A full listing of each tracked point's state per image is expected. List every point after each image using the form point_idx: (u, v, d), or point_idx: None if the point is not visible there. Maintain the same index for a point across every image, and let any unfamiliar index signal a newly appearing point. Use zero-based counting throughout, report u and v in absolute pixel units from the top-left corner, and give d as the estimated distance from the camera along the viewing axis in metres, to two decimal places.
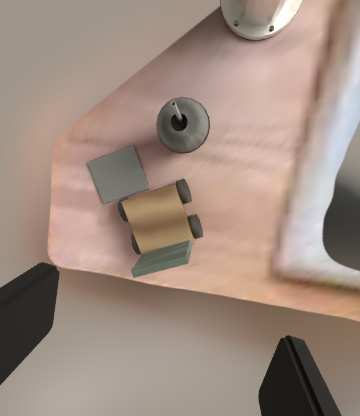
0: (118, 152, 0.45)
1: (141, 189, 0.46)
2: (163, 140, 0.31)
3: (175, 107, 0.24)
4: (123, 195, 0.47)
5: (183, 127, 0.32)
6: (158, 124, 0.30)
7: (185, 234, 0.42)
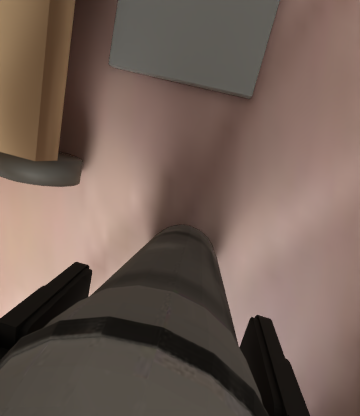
0: (265, 32, 0.13)
1: (117, 37, 0.14)
2: None
3: None
4: None
5: None
6: None
7: None
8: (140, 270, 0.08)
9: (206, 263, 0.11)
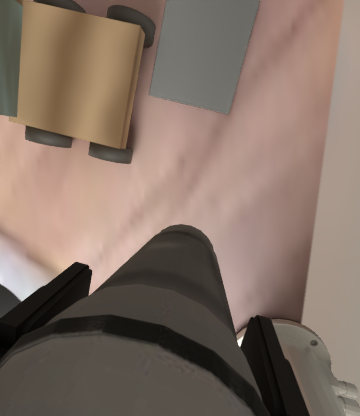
0: (235, 79, 0.24)
1: (154, 80, 0.25)
2: None
3: None
4: (162, 37, 0.24)
5: None
6: None
7: (29, 115, 0.22)
8: (140, 269, 0.08)
9: (206, 262, 0.11)
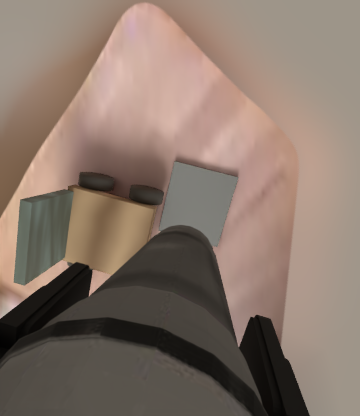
0: (221, 225, 0.33)
1: (162, 221, 0.34)
2: None
3: None
4: (169, 195, 0.33)
5: None
6: None
7: (73, 257, 0.31)
8: (139, 270, 0.08)
9: (205, 263, 0.11)
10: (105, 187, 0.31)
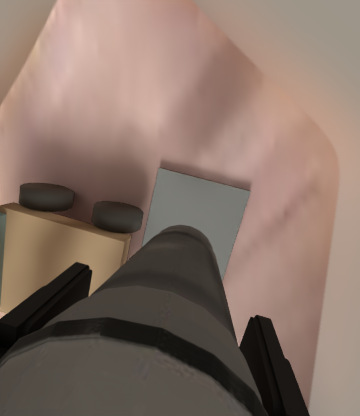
0: (226, 258, 0.23)
1: None
2: None
3: None
4: (151, 215, 0.23)
5: None
6: None
7: (12, 306, 0.22)
8: (139, 270, 0.08)
9: (205, 263, 0.11)
10: (57, 206, 0.21)
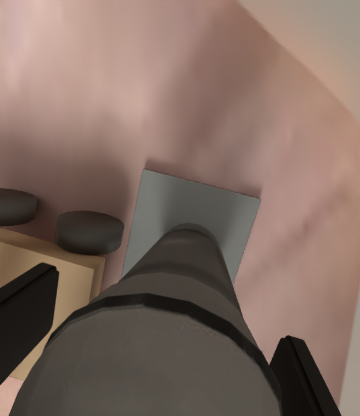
0: None
1: None
2: (99, 386, 0.04)
3: None
4: (135, 229, 0.18)
5: None
6: None
7: None
8: (160, 261, 0.10)
9: (215, 257, 0.12)
10: (11, 219, 0.16)
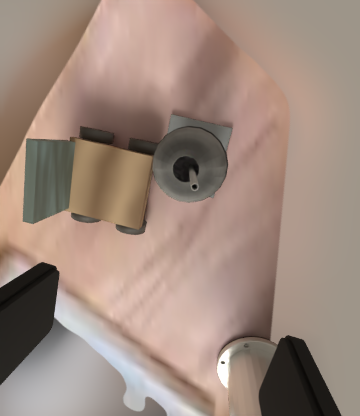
0: None
1: None
2: (182, 131, 0.20)
3: (190, 185, 0.15)
4: None
5: (187, 165, 0.23)
6: (205, 138, 0.20)
7: (77, 207, 0.33)
8: None
9: None
10: (105, 139, 0.32)
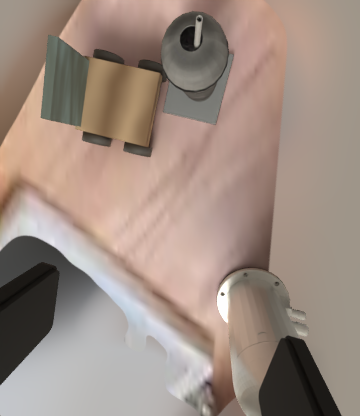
0: (219, 102, 0.37)
1: (167, 102, 0.38)
2: None
3: (195, 22, 0.18)
4: None
5: None
6: (208, 16, 0.22)
7: (88, 125, 0.35)
8: None
9: None
10: (116, 62, 0.35)
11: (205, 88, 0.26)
